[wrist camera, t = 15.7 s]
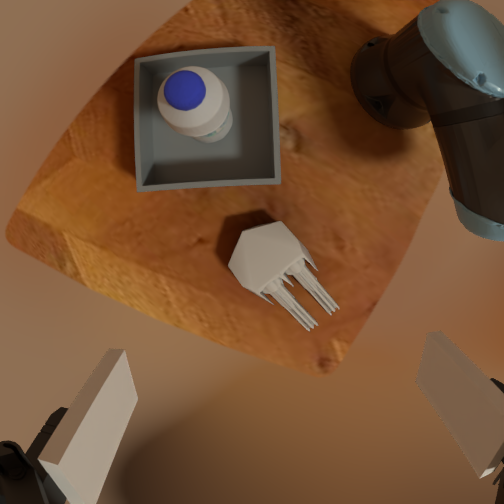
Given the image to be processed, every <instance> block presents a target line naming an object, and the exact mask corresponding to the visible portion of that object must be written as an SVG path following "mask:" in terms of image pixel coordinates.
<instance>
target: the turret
mask: <svg viewBox="0 0 504 504" xmlns="http://www.w3.org/2000/svg"><path fill="white" fill-rule="evenodd" d="M304 258H305V259H306V260H307V261H308V262H309V263H310V264H311V265H312V266H313V267H314V268H315V269H316V270H317V268H316V266H315V264H314V262H313V260H312V258H311V256H310V254H309V252H308V250H307V249H306V247H305V246H304V245H303V244H302V243H301V242H300V241H299V240H298V239H297V238H296V237H295V236H294V234H293V233H292V232H291V231H290V230H289V229H288V228H287V227H286V226H285V225H284V224H283V223H282V222H281V221H278V222H273V223H267V224H262V225H257V226H255V227H252V228H249V229H246V230H243V231H242V233H241V235H240V237H239V240H238V242H237V244H236V247H235V249H234V252H233V254H232V257H231V259H230V262H229V264H228V267H229V268H230V269H231V271H232V272H233V274H234V275H235V277H236V278H237V279H238V281H239V282H240V284H241V285H242V286H243V287H244V288H246V289H247V290H249V291H250V292H252V293H254V294H255V295H257V296H259V297H261V298H262V299H264V300H266V301H268V302H269V303H271V304H273V303H272V302H271V301H270V300H269V299H268V298H267V297H266V296H265V295H264V294H263V293H268V294H270V295H271V296H272V297H273V298H274V299H275V300H276V301H277V302H278V303H279V304H280V305H282V306H283V307H285V308H286V309H287V310H288V311H289V312H290V313H291V314H292V315H293V317H294V318H295V319H296V320H297V321H298V322H299V323H300V324H301V325H302V326H303V327H304V328H305V329H307V330H308V331H310V329H309V327H311V328H314V326H313V325H314V324H315V325H317V326H318V324H317V322H316V320H315V319H314V318H313V317H312V316H311V315H310V314H309V313H308V312H307V311H306V310H305V309H304V308H303V307H302V306H301V305H300V304H299V302H298V301H297V300H296V299H295V297H294V296H293V295H292V294H291V293H290V292H289V291H288V290H287V289H286V288H285V286H284V284H283V281H282V279H283V280H285V281H286V282H288V283H289V284H291V285H292V286H293V284H292V283H291V281H290V280H289V278H288V277H287V276H286V274H287V275H293V276H294V277H295V278H296V280H297V281H298V282H299V283H300V284H301V285H302V286H303V287H304V288H305V289H307V290H308V291H309V293H310V294H311V295H312V296H313V297H314V298H315V299H316V300H317V301H318V303H319V304H320V305H321V306H322V307H323V308H324V309H325V310H326V312H327V313H329V314H330V315H332V314H331V311H330V310H332V311H334V312H335V307H337V308H338V309H339V306H338V304H337V303H336V302H335V301H334V300H333V298H332V297H331V296H330V295H329V294H328V293H327V291H326V290H325V289H324V288H323V287H322V286H321V284H320V283H319V282H318V281H317V279H316V277H315V276H314V275H313V274H312V273H311V272H310V270H309V269H308V268H307V267H306V265H305V262H304ZM317 271H318V270H317ZM284 272H285V273H286V274H285V273H284ZM261 291H262V292H263V293H262V292H261ZM319 297H320V298H319ZM327 298H328V299H327ZM273 305H274V304H273ZM326 305H327V306H326ZM329 309H330V310H329ZM306 316H307V317H306ZM308 326H309V327H308Z"/></svg>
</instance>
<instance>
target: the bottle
mask: <svg viewBox="0 0 504 504" xmlns="http://www.w3.org/2000/svg"><path fill="white" fill-rule="evenodd" d="M157 103H158V108H159V111H160V113H161V115H162V116H163V118H164V120H165V122H166V123H167V125H168V126H169V127H170V128H171V129H173V130H174V131H176V132H177V133H180V134H182V135H186V136H191V137H192V138H193V139H195V140H197V141H199V142H203V143H212V142H216V141H219V140H221V139H222V138H224V137H225V136H226V135H227V133H228V132H229V130H230V128H231V126H232V122H233V117H232V112H231V109H230V107H229V106H230V98H229V93H228V90H227V88H226V86H225V84H224V83H223V82H222V81H221V80H220V79H219V78H218V77H217V76H216V75H215V74H213V73H212V72H211V71H209V70H207V69H205V68H202V67H197V66H189V67H184V68H180V69H178V70H176V71H174V72H173V73H171V74H170V75H169V76H168V77H167V78H166V79H165V80H164V81H163V83H162V85H161V86H160V89H159V91H158V97H157Z"/></svg>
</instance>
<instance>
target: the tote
mask: <svg viewBox="0 0 504 504" xmlns="http://www.w3.org/2000/svg"><path fill="white" fill-rule="evenodd" d="M189 66H197V67H202V68H205V69H207V70H209V71H211V72H212V73H213V74H215V75H216V76H217V77H218V78H219V79H220V80H221V81H222V82H223V83H224V84H225V86H226V88H227V90H228V93H229V98H230V106H229V107H230V109H231V112H232V117H233V122H232V126H231V128H230V130H229V132H228V133H227V135H226V136H225V137H224V138H222V139H221V140H219V141H216V142H212V143H203V142H199V141H197V140H195V139H193V138H192V137H191V136H186V135H182V134H180V133H177V132H176V131H174V130H173V129H171V128H170V127H169V126H168V125H167V123H166V122H165V120H164V118H163V116H162V115H161V113H160V111H159V108H158V103H157V97H158V91H159V89H160V86H161V85H162V83H163V81H164V80H165V79H166V78H167V77H168V76H169V75H170V74H171V73H173V72H174V71H176V70H178V69H180V68H184V67H189ZM134 142H135V166H136V183H137V192H146V191H158V190H171V189H184V188H200V187H217V186H238V185H265V184H281V169H280V140H279V115H278V94H277V74H276V56H275V46H247V47H226V48H212V49H201V50H191V51H182V52H174V53H167V54H160V55H154V56H148V57H142V58H137V59H135V65H134Z"/></svg>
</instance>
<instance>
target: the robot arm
mask: <svg viewBox="0 0 504 504" xmlns="http://www.w3.org/2000/svg"><path fill="white" fill-rule="evenodd" d="M351 82H352V86H353V90H354V92H355V95H356V97H357V99H358V100H359V102H360V104H361V105H362V106H363V108H364V109H365V110H366V111H367V112H368V113H369V114H370V115H371V116H372V117H373V118H374V119H376V120H377V121H379V122H380V123H382V124H384V125H386V126H389V127H391V128H395V129H412V128H417V127H420V126H423V125H425V124H427V123H428V122H430V121H431V122H432V125H433V129H434V132H435V135H436V138H437V141H438V145H439V148H440V151H441V155H442V158H443V162H444V165H445V169H446V173H447V177H448V181H449V185H450V187H449V190H450V194H451V197H452V198H453V200H454V204H455V208H456V211H457V216H458V218H459V220H460V222H461V223H462V224H463V225H464V226H465V228H466V229H467V230H469V231H470V232H472V233H473V234H475V235H478V236H480V237H483V238H486V239H490V240H496V241H504V25H503V24H502V23H501V22H500V21H499V20H498V19H497V18H496V17H495V16H494V15H492V14H490V13H489V12H488V11H487V10H485V9H484V8H483V7H482V6H480V5H478V4H476V3H474V2H472V1H469V0H440V1H438V2H437V3H435V4H433V5H431V6H428V7H426V8H424V9H423V10H422V11H421V12H420V13H419V15H417V16H416V17H415V18H414V19H413V20H411V21H410V22H409V23H408V24H407V25H405V26H404V27H403V28H402V29H401V30H399V31H398V32H397V33H396V34H393V35H385V36H379V37H376V38H373V39H371V40H370V41H368V42H367V43H365V44H364V45H363V46H362V47H361V48H360V49H359V50H358V52H357V53H356V54H355V56H354V58H353V61H352V65H351ZM416 383H417V385H418V386H419V388H420V389H421V391H422V392H423V393H424V394H425V396H426V398H427V399H428V400H429V402H430V403H431V405H432V406H433V408H434V409H435V411H436V412H437V414H438V415H439V417H440V418H441V419H442V421H443V423H444V424H445V426H446V427H447V429H448V430H449V431H450V433H451V435H452V436H453V438H454V439H455V441H456V442H457V444H458V445H459V447H460V448H461V450H462V452H463V453H464V455H465V456H466V458H467V459H468V461H469V463H470V464H471V466H472V467H473V469H474V470H475V472H476V474H477V475H478V477H479V478H482V477H484V476H486V475H488V474H490V473H492V472H494V471H495V469H496V468H497V467H498V465H499V464H500V462H501V461H502V462H503V464H504V384H503V383H501V382H499V381H497V380H496V379H494V378H491V379H489V378H488V377H487V376H486V375H485V374H484V373H483V372H482V371H481V370H480V369H479V368H478V367H477V366H476V365H475V364H474V363H473V362H472V361H471V360H470V359H469V358H468V357H467V356H466V355H465V354H464V353H463V352H462V351H461V350H460V349H459V348H458V347H457V346H456V345H455V344H454V343H453V342H452V341H451V340H450V339H449V338H448V337H447V336H446V335H445V334H444V333H443V332H441V331H437V332H430V333H427V337H426V342H425V346H424V351H423V354H422V359H421V363H420V367H419V370H418V375H417V378H416ZM137 400H138V397H137V394H136V390H135V387H134V383H133V380H132V376H131V372H130V368H129V364H128V361H127V357H126V353H125V350H124V349H108V351H107V352H106V354H105V355H104V356H103V358H102V359H101V361H100V362H99V364H98V365H97V367H96V368H95V370H94V371H93V373H92V374H91V376H90V377H89V379H88V380H87V382H86V383H85V385H84V386H83V387H82V389H81V391H80V392H79V394H78V395H77V397H76V398H75V400H74V401H73V403H72V404H71V406H70V407H69V408H63V407H60V408H59V409H58V410H56V411H55V412H54V413H52V414H51V416H50V417H49V418H48V420H47V422H46V423H45V425H44V426H43V427H42V429H41V432H40V433H38V435H37V436H36V438H35V440H34V441H33V443H32V444H31V446H30V447H29V449H28V450H27V452H26V454H25V453H24V452H23V450H22V449H21V447H20V446H19V445H18V444H17V443H16V442H12V441H2V442H0V504H64V503H65V501H66V499H67V500H68V501H69V502H70V503H71V504H96V503H97V500H98V497H99V495H100V492H101V489H102V487H103V484H104V481H105V479H106V476H107V474H108V471H109V469H110V466H111V464H112V461H113V458H114V456H115V453H116V451H117V448H118V446H119V443H120V441H121V438H122V436H123V434H124V431H125V429H126V426H127V424H128V422H129V419H130V417H131V415H132V412H133V409H134V407H135V405H136V403H137ZM499 479H500V482H499V484H498V485H499V487H498V492H497V497H496V501H495V504H504V467H503V469H502V471H501V472H500V473H499V475H498V476H497V477H496V479H495V480H494V482H493V485H495V484H496V482H497V481H498V480H499Z"/></svg>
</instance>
